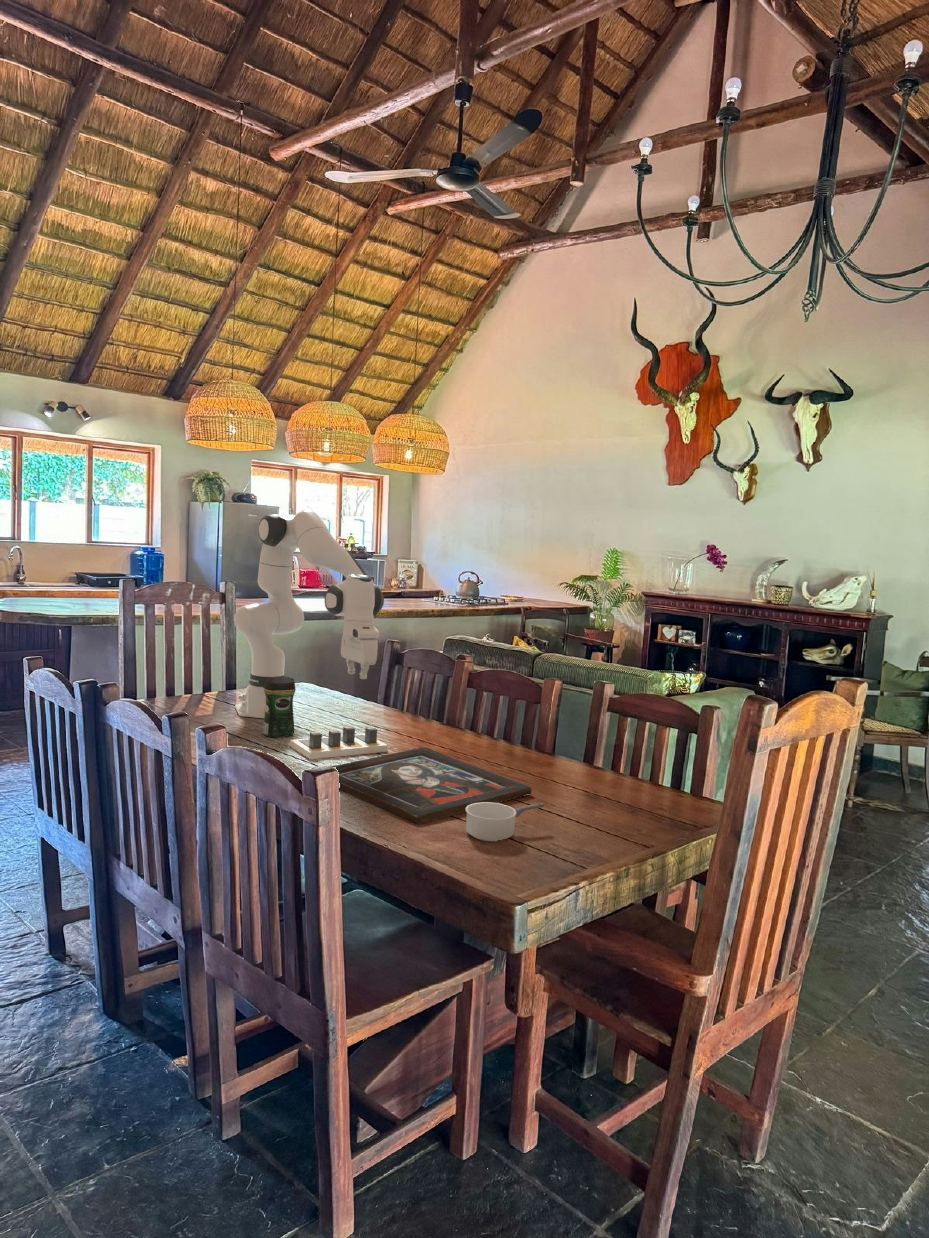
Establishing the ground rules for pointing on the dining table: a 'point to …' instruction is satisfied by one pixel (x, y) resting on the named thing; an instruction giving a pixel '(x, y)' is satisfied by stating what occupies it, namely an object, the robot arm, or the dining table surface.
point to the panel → (338, 747)
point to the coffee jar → (279, 707)
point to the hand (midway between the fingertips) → (357, 676)
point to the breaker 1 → (315, 739)
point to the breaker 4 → (371, 735)
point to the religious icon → (424, 784)
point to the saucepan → (493, 820)
